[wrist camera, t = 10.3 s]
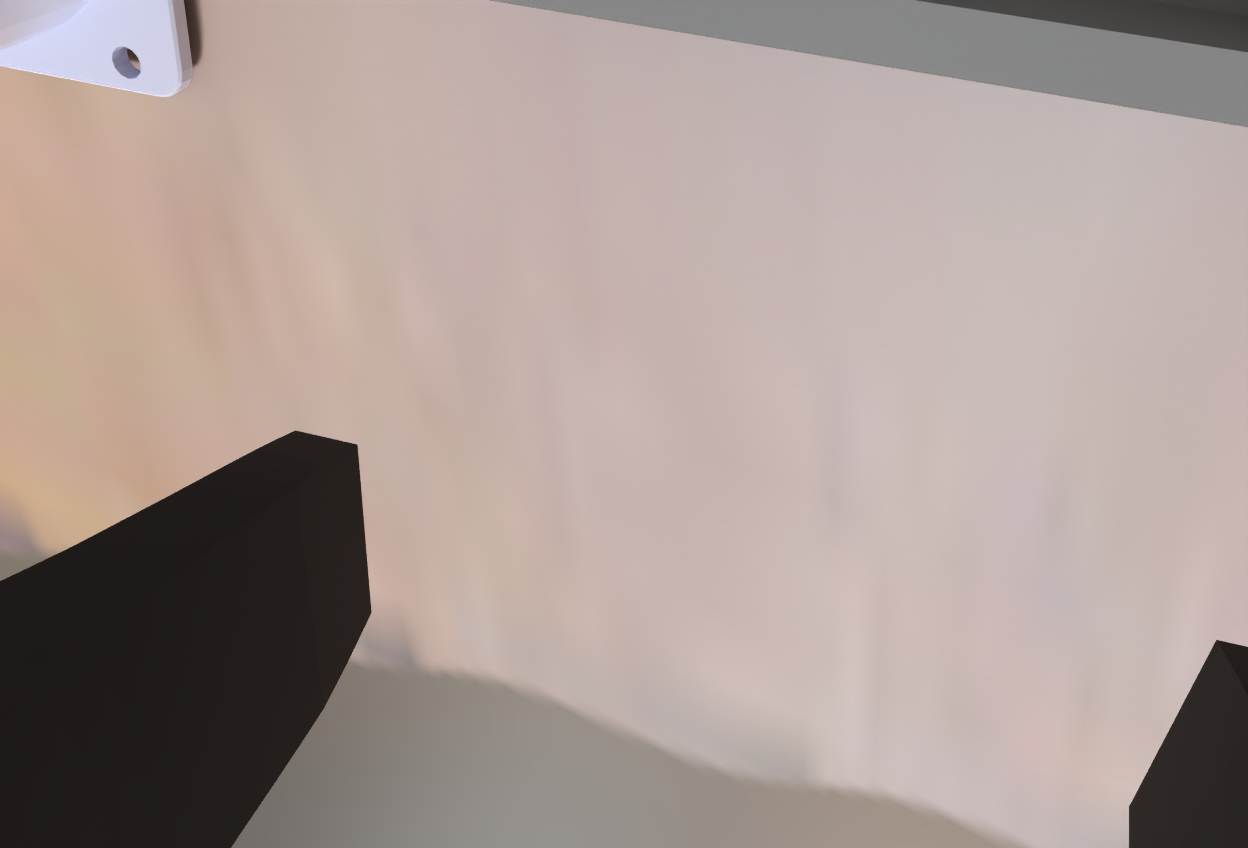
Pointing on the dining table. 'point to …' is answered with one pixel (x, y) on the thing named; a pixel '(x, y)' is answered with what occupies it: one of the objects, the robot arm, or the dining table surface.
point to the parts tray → (994, 42)
